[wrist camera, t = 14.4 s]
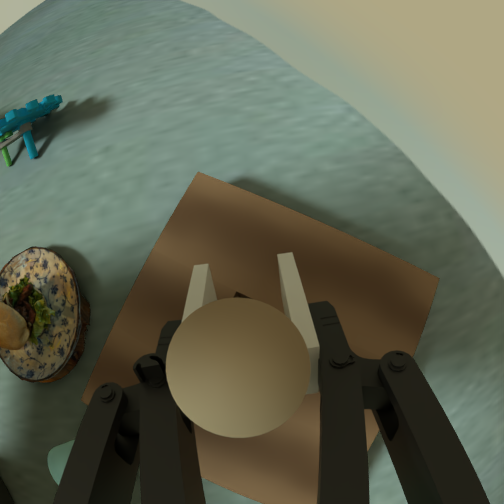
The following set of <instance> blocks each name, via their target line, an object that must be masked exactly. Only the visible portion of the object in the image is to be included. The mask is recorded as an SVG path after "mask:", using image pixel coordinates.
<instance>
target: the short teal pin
mask: <svg viewBox="0 0 504 504" xmlns="http://www.w3.org/2000/svg"><path fill="white" fill-rule="evenodd" d="M74 441H75V439H74V440H72V441H69V442H66V443H64V444H61V445H58V446H56V447H53V448H52V449H51V450H50V451H49V454H48V459H47V461H48V467H49V471H50V473H51V475H52V477H53V479H54V480H55V482H56V483H57V484H58V485H59V483H60V480H61V477H62V474H63V471H64V469H65V466H66V463H67V460H68V457H69V454H70V452H71V449H72V446H73V444H74Z"/></svg>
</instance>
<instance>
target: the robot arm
mask: <svg viewBox="0 0 504 504" xmlns="http://www.w3.org/2000/svg"><path fill="white" fill-rule="evenodd" d="M277 257H278V266H279V276H280V286H281V296H282V302H283V307H284V313H285V315H286V316H287V317H288V318H289V319H290V320H291V321H292V322H293V323H294V325H295V326H296V327H297V328H298V330H299V332H300V333H301V335H302V337H303V339H304V341H305V343H306V345H307V349H308V352H309V357H310V381H309V385H308V389H307V392H306V394H312V393H318V392H319V391H320V444H319V472H318V492H317V504H369V473H368V454H367V439H366V426H365V415H364V409H371V410H372V413H373V415H374V418H375V420H376V422H377V425H378V427H379V430H380V432H381V435H382V437H383V440H384V442H385V445H386V447H387V450H388V452H389V455H390V457H391V460H392V462H393V465H394V467H395V470H396V473H397V475H398V478H399V481H400V483H401V486H402V489H403V491H404V494H405V497H406V499H407V502H408V504H490V502H489V500H488V498H487V496H486V493H485V491H484V489H483V487H482V485H481V482H480V480H479V478H478V476H477V474H476V472H475V470H474V468H473V466H472V464H471V462H470V460H469V458H468V456H467V454H466V452H465V450H464V448H463V446H462V444H461V442H460V440H459V438H458V436H457V434H456V432H455V430H454V429H453V427H452V425H451V423H450V421H449V419H448V417H447V416H446V414H445V412H444V410H443V408H442V407H441V405H440V403H439V401H438V400H437V398H436V396H435V394H434V393H433V391H432V389H431V387H430V386H429V384H428V382H427V380H426V379H425V377H424V375H423V374H422V372H421V370H420V369H419V367H418V365H417V364H416V362H415V360H414V359H413V358H412V357H411V356H410V354H408V353H406V352H404V351H399V350H395V351H390V352H388V353H386V354H384V356H383V357H382V358H381V359H367V358H362V357H359V356H357V355H356V354H355V353H354V352H353V351H351V349H350V347H349V345H348V342H347V339H346V337H345V334H344V331H343V329H342V326H341V324H340V321H339V318H338V316H337V313H336V310H335V308H334V306H332V305H331V304H330V303H329V302H328V301H321V302H315V303H308V304H307V300H306V297H305V293H304V290H303V286H302V283H301V280H300V276H299V273H298V270H297V266H296V263H295V260H294V256H293V253H292V252H290V253H283V254H277ZM216 300H217V297H216V293H215V289H214V285H213V281H212V276H211V272H210V268H209V264H200V265H194V268H193V272H192V276H191V281H190V285H189V290H188V294H187V299H186V304H185V308H184V313H183V318H182V320H173V321H167V323H166V324H165V325H164V326H163V328H162V329H161V333H160V336H159V340H158V346H157V348H156V352H155V353H150V354H147V355H143V356H142V357H140V358H139V359H138V360H137V361H136V362H135V363H134V366H133V371H134V373H135V374H136V376H137V378H138V379H139V381H140V383H138V384H136V385H132V386H129V387H125V388H121V386H120V385H118V384H117V383H114V382H108V383H104V384H102V385H100V386H99V387H98V388H97V389H96V390H95V392H94V393H93V396H92V398H91V400H90V403H89V405H88V408H87V410H86V413H85V415H84V418H83V420H82V423H81V425H80V428H79V430H78V433H77V436H76V438H75V441H74V444H73V446H72V449H71V452H70V454H69V457H68V460H67V463H66V466H65V469H64V471H63V474H62V477H61V480H60V483H59V486H58V489H57V493H56V496H55V499H54V502H53V504H130V502H131V497H132V493H133V489H134V484H135V480H136V476H137V471H138V467H139V463H140V483H141V502H142V504H206V502H205V497H204V491H203V485H202V479H201V473H200V466H199V459H198V452H197V445H196V438H195V430H194V422H193V421H191V420H190V419H189V418H188V417H187V416H186V415H185V414H184V413H183V412H182V410H181V409H180V408H179V406H178V405H177V403H176V402H175V400H174V398H173V396H172V394H171V391H170V389H169V385H168V381H167V375H166V358H167V352H168V348H169V344H170V342H171V340H172V337H173V335H174V334H175V332H176V330H177V328H178V327H179V326H180V325H181V323H182V322H183V321H184V320H185V319H186V318H187V317H188V316H189V315H190V314H191V313H193V312H194V311H195V310H197V309H198V308H200V307H202V306H204V305H206V304H208V303H210V302H213V301H216ZM306 394H305V395H306ZM0 504H14V503H13V501H12V499H11V497H10V495H9V493H8V491H7V489H6V487H5V485H4V483H3V482H2V480H1V478H0Z"/></svg>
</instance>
